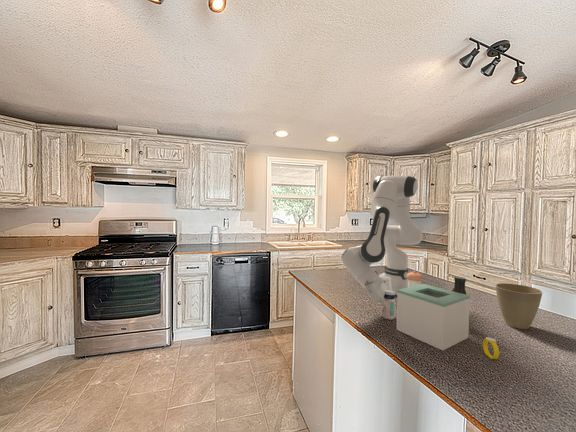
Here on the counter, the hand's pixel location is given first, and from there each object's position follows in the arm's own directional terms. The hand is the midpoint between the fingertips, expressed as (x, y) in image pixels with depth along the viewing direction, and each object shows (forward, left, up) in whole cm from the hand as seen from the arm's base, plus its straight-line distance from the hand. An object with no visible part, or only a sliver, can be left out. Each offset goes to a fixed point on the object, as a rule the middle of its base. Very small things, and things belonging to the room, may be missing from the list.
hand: (390, 303), depth 115 cm
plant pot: (+31, +41, -7) cm, 52 cm away
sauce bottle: (+18, +20, -7) cm, 28 cm away
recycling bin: (+17, +2, -6) cm, 19 cm away
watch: (+36, +3, -7) cm, 37 cm away
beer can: (-1, 0, -7) cm, 7 cm away
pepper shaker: (0, +17, -7) cm, 18 cm away
